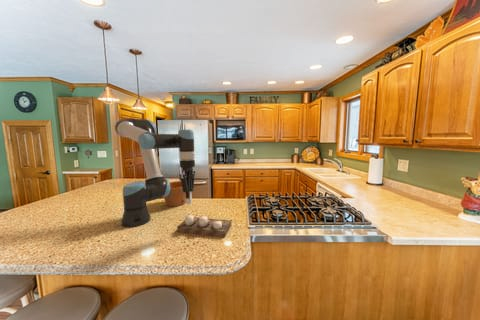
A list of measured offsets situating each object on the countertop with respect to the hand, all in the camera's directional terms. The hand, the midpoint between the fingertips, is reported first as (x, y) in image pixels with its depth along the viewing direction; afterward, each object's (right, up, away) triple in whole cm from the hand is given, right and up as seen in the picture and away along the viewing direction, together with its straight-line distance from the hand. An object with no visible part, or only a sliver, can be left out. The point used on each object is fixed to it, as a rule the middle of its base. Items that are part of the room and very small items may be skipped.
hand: (189, 203), depth 101 cm
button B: (+8, -11, 0) cm, 14 cm away
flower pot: (-22, -10, +44) cm, 50 cm away
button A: (0, -11, +1) cm, 11 cm away
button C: (+16, -13, -2) cm, 21 cm away
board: (+8, -14, +2) cm, 17 cm away
